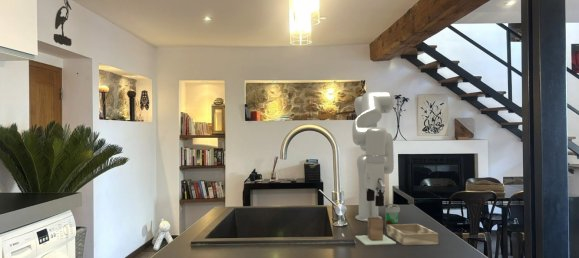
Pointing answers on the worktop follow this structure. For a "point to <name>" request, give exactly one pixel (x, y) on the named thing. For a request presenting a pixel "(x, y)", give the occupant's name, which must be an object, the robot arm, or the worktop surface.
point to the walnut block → (375, 228)
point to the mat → (367, 241)
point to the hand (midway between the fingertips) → (374, 203)
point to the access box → (412, 234)
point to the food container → (391, 214)
